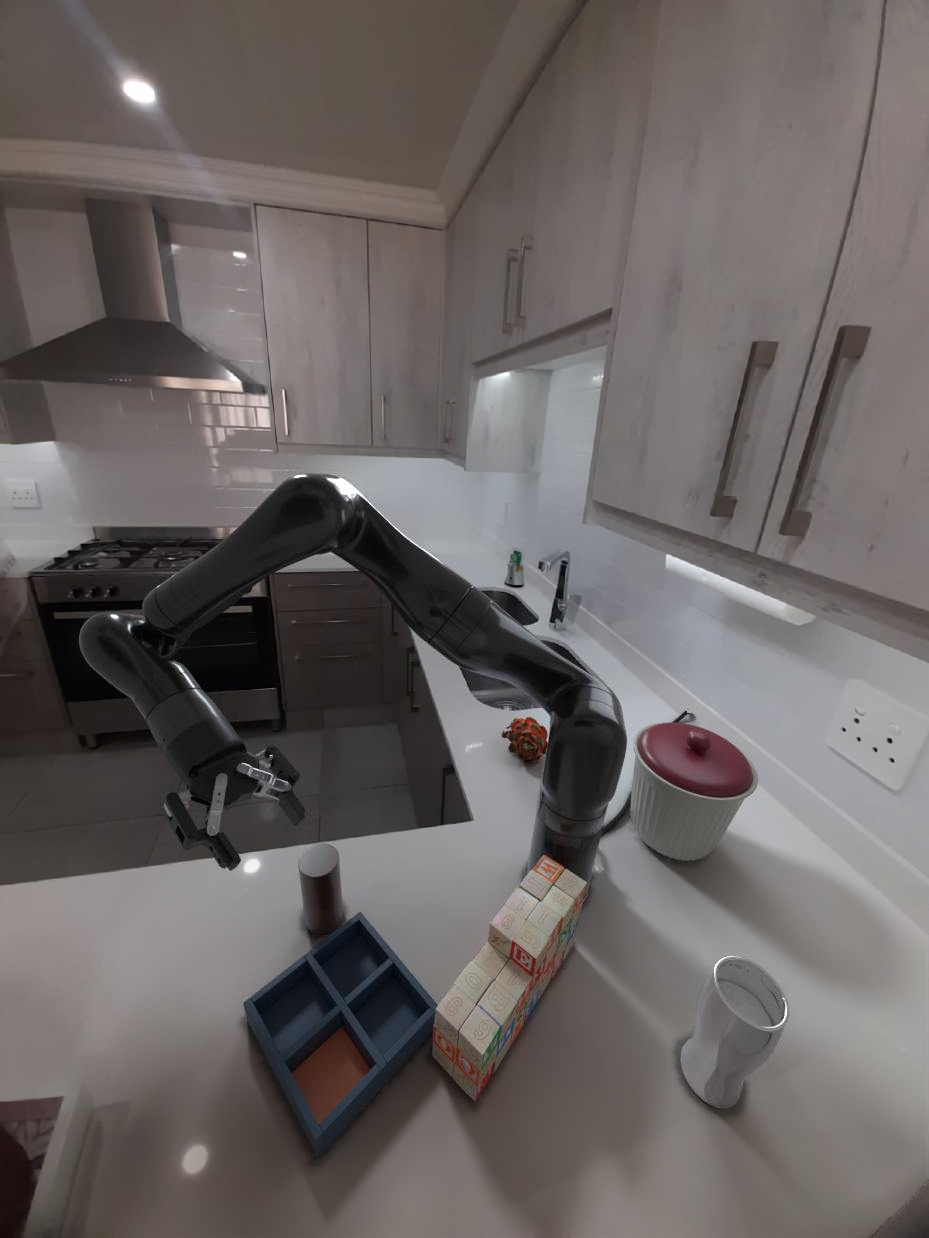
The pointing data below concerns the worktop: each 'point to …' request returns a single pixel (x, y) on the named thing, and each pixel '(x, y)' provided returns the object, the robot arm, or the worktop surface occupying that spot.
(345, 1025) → the grid
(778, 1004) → the beer glass
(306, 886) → the brown cylinder
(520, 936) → the stack of blocks
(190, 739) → the robot arm
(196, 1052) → the worktop surface
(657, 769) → the canister
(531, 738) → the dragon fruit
